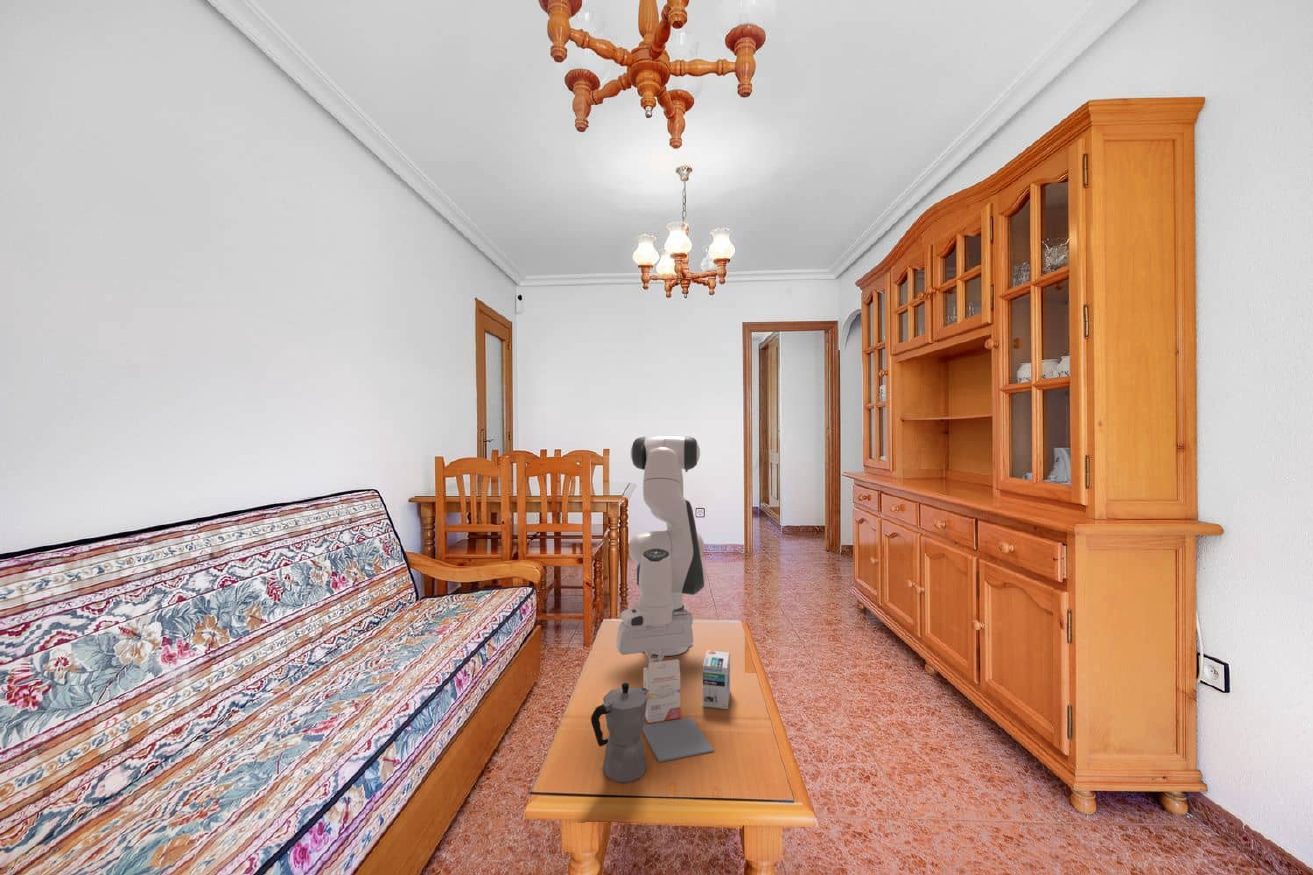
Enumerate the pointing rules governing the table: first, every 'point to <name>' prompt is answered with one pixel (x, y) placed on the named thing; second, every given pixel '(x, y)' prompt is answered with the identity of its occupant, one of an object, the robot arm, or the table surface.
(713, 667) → the light bulb box
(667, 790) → the table surface
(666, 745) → the mat
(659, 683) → the ink cartridge box
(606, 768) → the coffeepot
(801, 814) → the table surface
